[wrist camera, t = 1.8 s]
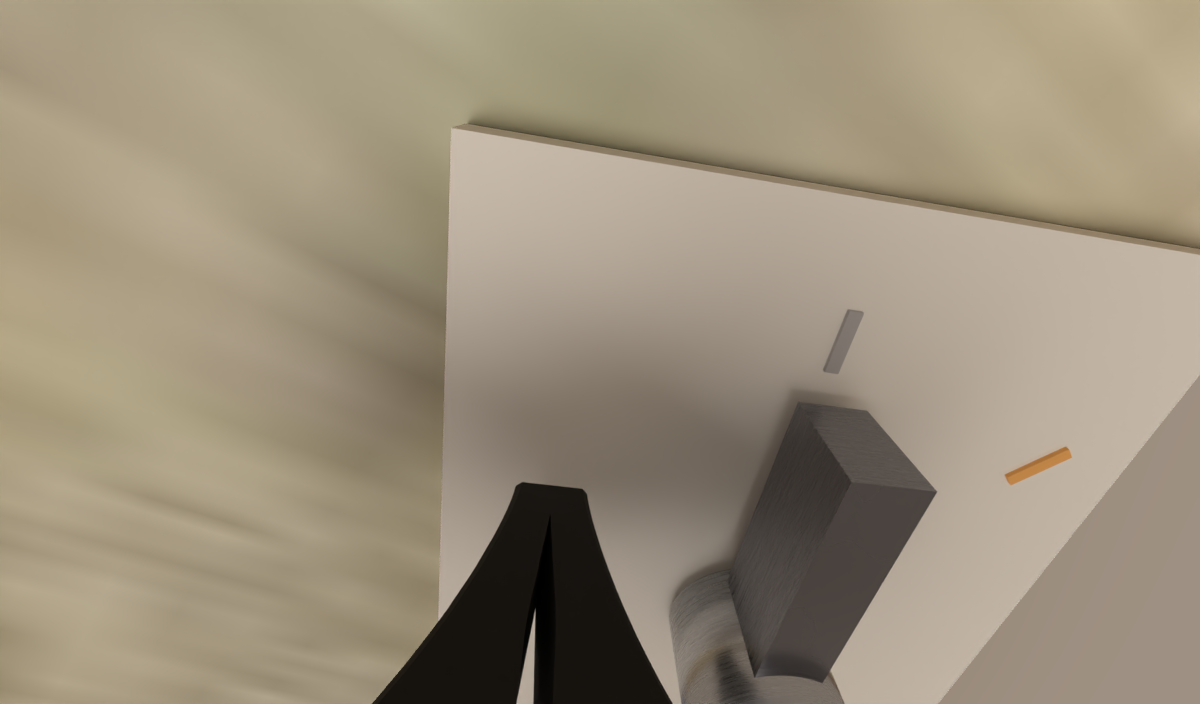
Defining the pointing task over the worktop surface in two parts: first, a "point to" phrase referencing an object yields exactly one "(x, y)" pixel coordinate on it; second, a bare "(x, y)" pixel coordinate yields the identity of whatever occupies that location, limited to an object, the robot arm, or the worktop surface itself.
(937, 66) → the worktop surface
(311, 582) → the worktop surface
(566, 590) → the robot arm
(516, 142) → the dial panel
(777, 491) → the dial lever
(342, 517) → the worktop surface
